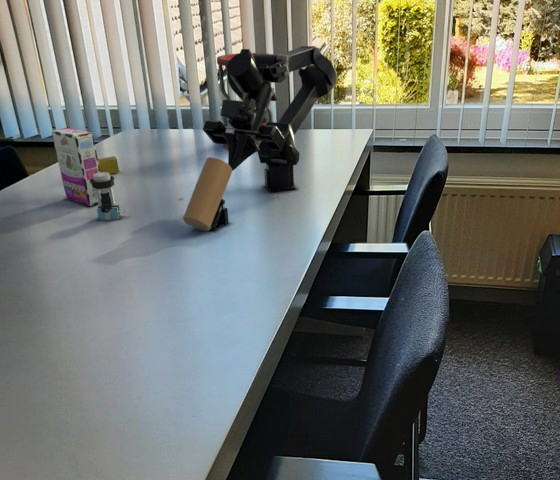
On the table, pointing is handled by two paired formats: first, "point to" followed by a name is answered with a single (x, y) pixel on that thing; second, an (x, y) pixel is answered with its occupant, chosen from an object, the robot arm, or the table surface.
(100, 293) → the table surface
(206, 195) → the paper towel roll
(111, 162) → the medication box
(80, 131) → the candy bar box
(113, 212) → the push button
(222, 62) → the hourglass
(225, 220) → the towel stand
